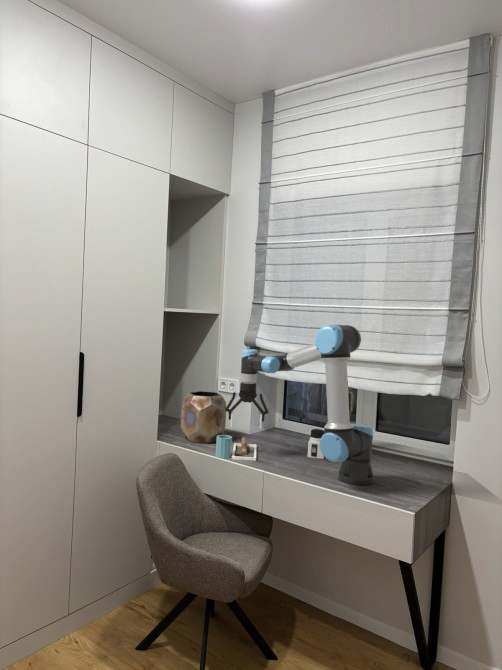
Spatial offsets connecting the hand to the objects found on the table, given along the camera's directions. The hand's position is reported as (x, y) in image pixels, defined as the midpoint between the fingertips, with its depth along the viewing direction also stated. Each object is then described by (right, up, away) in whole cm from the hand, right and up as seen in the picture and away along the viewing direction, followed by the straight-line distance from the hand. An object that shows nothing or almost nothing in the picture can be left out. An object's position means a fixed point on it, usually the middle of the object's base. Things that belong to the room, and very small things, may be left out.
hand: (245, 427), depth 242 cm
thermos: (+48, -15, +24) cm, 56 cm away
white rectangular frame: (-1, -13, +3) cm, 14 cm away
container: (+34, -15, +7) cm, 38 cm away
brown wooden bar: (-1, -13, 0) cm, 13 cm away
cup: (-10, -13, -5) cm, 18 cm away
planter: (-23, -11, +28) cm, 38 cm away
